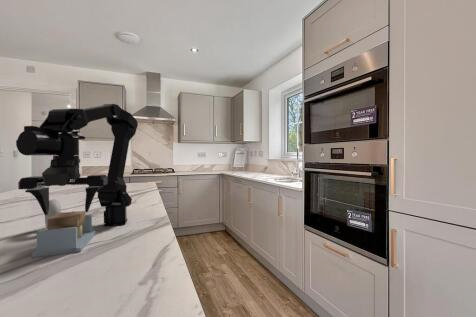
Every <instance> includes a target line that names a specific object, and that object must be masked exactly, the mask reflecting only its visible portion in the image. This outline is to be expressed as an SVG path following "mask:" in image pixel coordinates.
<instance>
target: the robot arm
mask: <svg viewBox="0 0 476 317" xmlns="http://www.w3.org/2000/svg"><path fill="white" fill-rule="evenodd" d="M102 119H106V123H107V124H108V125H109V126H110V129H111V133H112V134H113V137H114V138H113V145H112V150H111V155H110V159H109V160H110V161H109V166H108V170H107V171H108V172H107V174H90V175H87V177H81V173H80V163H81V158H80V140H81V141H83V140H86V137H85V136H84V135H83V134H82V133H81V132H80V131H79V130H81V129H83V128H85V127H87V126H88V124H90V123H91V122H94V121H98V120H102ZM137 130H138V120H137V118H135V117H134V116H133V114H132V113H131V112H128V111H127V110H125V109H123V108H121V107H120V106H119V104H116V103H104V104H103V105H98V106H93V107H86V108H57V109H56V108H54V109H51V110H49V111H48V114H47V117H46V118H45V120H43V121H42V123H41V124H40V125H39V126H36V125H25V126H23V131H22V132H21V133H20V134H19V135H18V136H17V139H16V141H15V144H16V145H15V146H16V148H17V151H18V152H19V153H20V154H22V155H23V156H52V159H50V165H49V167H47V168H46V169H45V170H44V171H42V173H41V175H40V176H39V175H37V176H26V177H21V178H20V179H19V180H18V183H17V186H18V190H24V191H25V193H28V194H31V195H32V196H33V197H34V198H35V199H36V201H37V203H38V204H39V206H40V208H41V210H42V212H43V215H44V216H45V215H48V213H49V200H50V187H51V186H59V187H61V186H68V185H71V186H72V185H87V186H88V187H85V203H84V204H85V205H84V211H85V213H89V210H90V207H91V205H92V202H93V200H94V198H95V196H96V194H97V199H98V202H99V204H100V207H101V208H102V207H105V210H104V211H103V224H104V225H103V226H104V227H109V226H110V227H111V226H120V225H122V226H123V225H126V224H127V222H128V214H127V213H128V212H127V210H128V209H127V207H130V206H131V204H132V199H133V198H132V197H131V196H130V195H129V193H128V192H127V187H128V186H127V184H126V182H125V180H124V174H125V167H126V162H127V156H128V151H129V145H130V141H131V140H132V139H133V137H134V136H135V135H136V133H137Z"/></svg>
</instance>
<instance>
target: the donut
mask: <svg viewBox="0 0 476 317" xmlns="http://www.w3.org/2000/svg"><path fill="white" fill-rule="evenodd" d="M57 213H62V206H61V203H60V201H59V200H57V199H49V213H48V215H45V214H44V224H45V227H46V230H47V229H48V221H47V219H48V218H50V217H52V216H54V215H55V214H57Z"/></svg>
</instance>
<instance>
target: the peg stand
mask: <svg viewBox="0 0 476 317" xmlns="http://www.w3.org/2000/svg"><path fill="white" fill-rule="evenodd" d="M92 217H93V216H92V214H85V222H84V223H83V224H82V225H80V226H79V227H78V228H77V227H70V228H59V229H47V228H46V229H38V230H37V231H36V249H35V250H34V251H32V252H31V258H39V257H45V256H46V257H47V256H54V255H55V256H56V255H63V254H71V253H81V252H82V251H83V250H84V249H85V247H86V246H87V245H88V244H89V243H90V242H91V240H92V239H93V238H94V237H95V236H96V235H97V231H96V230H93V218H92Z"/></svg>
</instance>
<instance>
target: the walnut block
mask: <svg viewBox="0 0 476 317" xmlns="http://www.w3.org/2000/svg"><path fill="white" fill-rule="evenodd" d="M85 215H86V212H85V210H82V211H81V210H80V211H67V212H66V211H65V212H61V213H57V214H55V215H54V216H52V217H50V218H48V219H47V221H48V229H59V228H70V227H77V228H78V227H79V226H80V225H82V224H83V223H84V222H85Z"/></svg>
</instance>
